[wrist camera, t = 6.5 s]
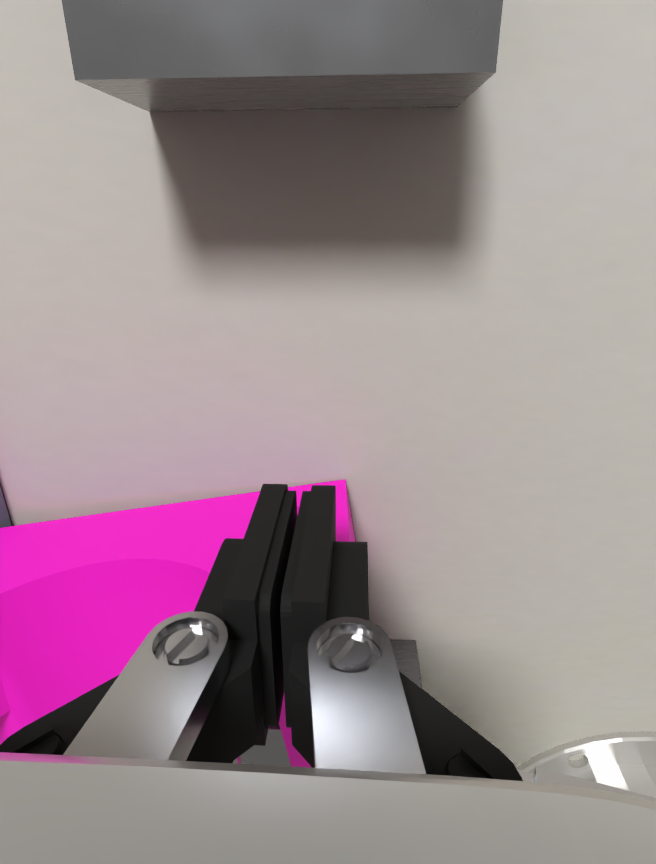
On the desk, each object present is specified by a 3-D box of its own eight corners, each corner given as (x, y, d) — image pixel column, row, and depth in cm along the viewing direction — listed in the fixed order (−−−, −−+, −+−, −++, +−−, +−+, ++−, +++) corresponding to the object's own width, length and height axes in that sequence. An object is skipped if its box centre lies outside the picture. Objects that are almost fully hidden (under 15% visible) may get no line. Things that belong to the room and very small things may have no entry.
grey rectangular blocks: (466, -17, 12) (514, -106, 9) (405, 774, 24) (414, 878, 20) (134, -9, 13) (46, -91, 9) (229, 767, 24) (207, 867, 21)
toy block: (-1, 664, 21) (-153, 886, 15) (-72, 537, 19) (-300, 734, 12) (368, 619, 20) (389, 833, 14) (345, 479, 18) (357, 656, 11)
